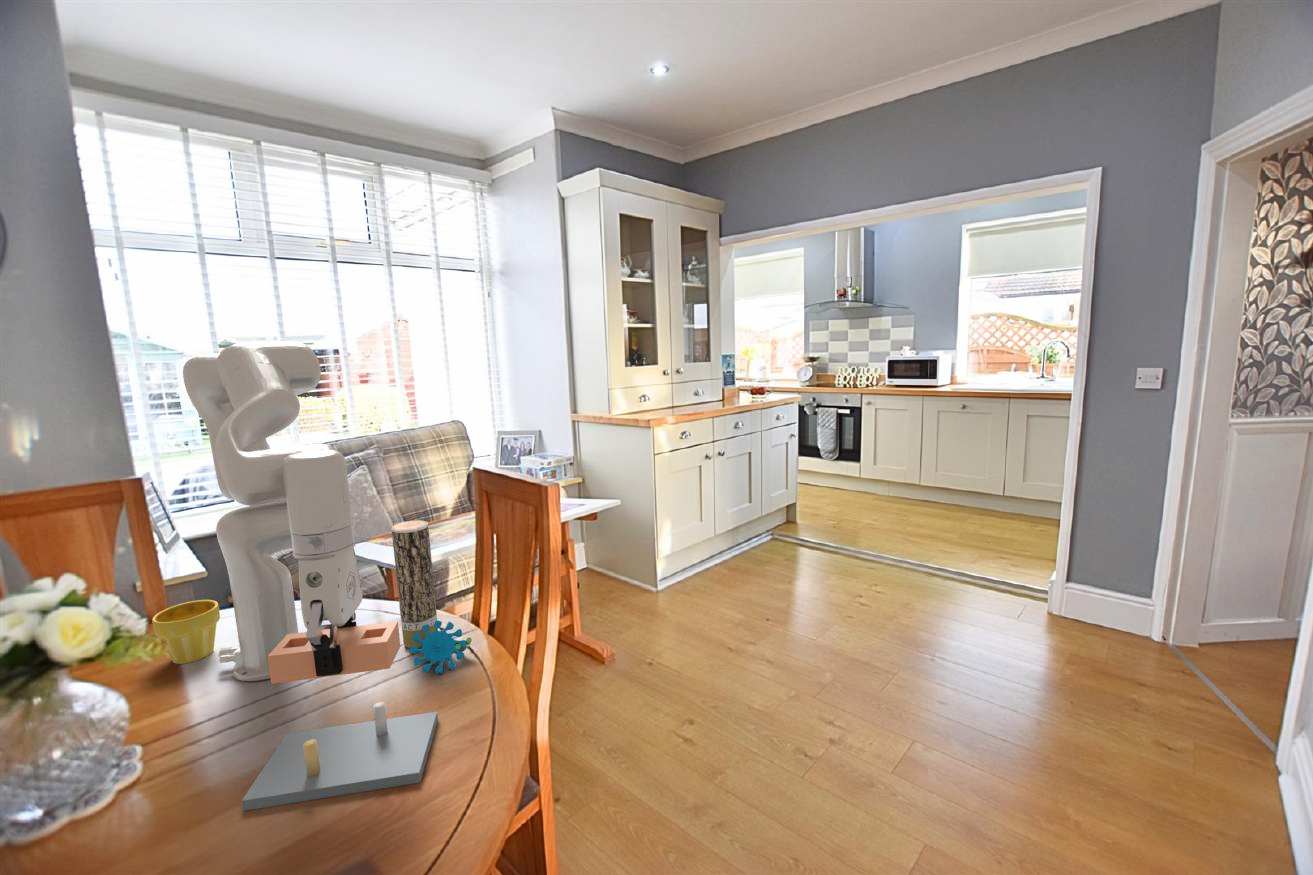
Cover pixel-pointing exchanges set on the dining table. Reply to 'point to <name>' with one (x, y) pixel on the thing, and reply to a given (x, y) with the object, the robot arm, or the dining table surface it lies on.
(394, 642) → the holed bar
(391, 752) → the slate board
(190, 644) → the plant pot
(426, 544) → the bark log
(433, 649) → the blue virus model
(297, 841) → the dining table surface
